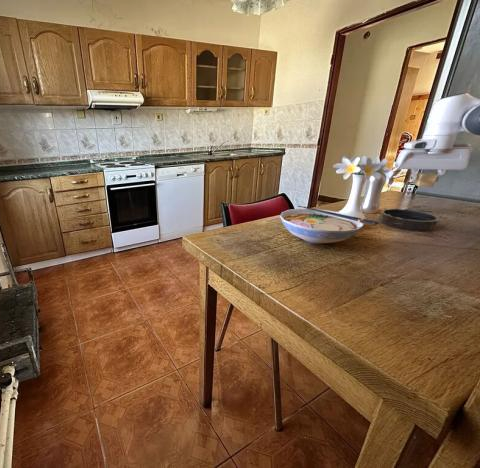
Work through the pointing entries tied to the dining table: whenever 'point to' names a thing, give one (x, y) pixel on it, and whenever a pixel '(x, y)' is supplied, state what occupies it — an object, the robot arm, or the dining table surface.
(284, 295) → the dining table surface
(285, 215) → the ramen bowl
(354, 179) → the flower vase
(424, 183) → the block
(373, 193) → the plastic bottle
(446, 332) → the dining table surface
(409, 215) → the pan
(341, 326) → the dining table surface
